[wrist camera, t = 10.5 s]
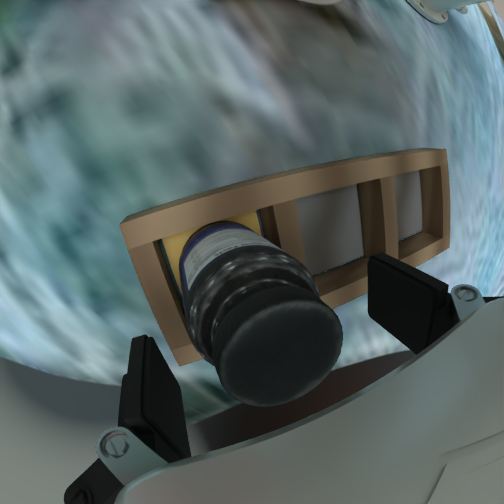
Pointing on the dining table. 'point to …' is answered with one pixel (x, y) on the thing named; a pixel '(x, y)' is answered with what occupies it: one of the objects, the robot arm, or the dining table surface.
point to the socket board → (304, 226)
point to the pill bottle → (256, 315)
